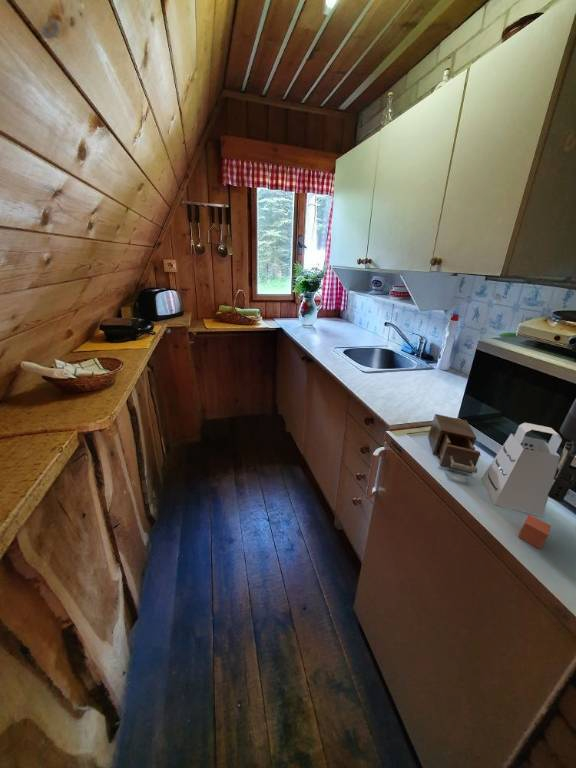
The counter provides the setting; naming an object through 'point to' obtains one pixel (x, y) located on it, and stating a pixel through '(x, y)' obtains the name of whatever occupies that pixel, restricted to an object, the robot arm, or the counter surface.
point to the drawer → (458, 453)
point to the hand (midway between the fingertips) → (557, 489)
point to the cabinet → (448, 430)
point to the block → (534, 531)
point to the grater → (524, 471)
